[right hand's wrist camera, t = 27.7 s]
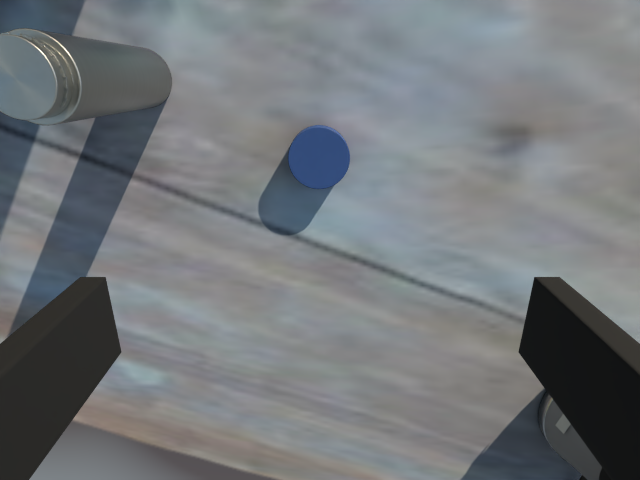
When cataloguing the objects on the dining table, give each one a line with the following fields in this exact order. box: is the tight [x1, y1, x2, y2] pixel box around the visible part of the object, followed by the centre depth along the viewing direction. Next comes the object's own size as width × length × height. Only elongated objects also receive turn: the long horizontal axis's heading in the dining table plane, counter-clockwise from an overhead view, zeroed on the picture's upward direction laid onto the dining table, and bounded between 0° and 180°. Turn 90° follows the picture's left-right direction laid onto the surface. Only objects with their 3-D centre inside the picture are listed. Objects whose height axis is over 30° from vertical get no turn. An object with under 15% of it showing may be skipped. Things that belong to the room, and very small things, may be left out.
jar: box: [0, 28, 172, 125], centre depth 28 cm, size 5×5×16 cm
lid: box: [288, 125, 350, 189], centre depth 37 cm, size 5×5×2 cm
